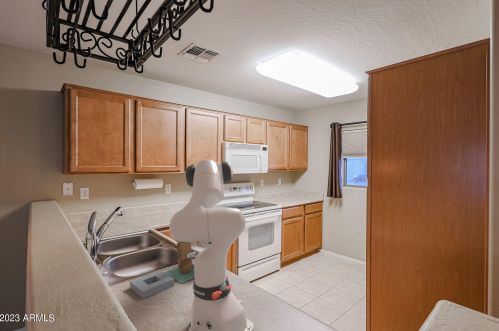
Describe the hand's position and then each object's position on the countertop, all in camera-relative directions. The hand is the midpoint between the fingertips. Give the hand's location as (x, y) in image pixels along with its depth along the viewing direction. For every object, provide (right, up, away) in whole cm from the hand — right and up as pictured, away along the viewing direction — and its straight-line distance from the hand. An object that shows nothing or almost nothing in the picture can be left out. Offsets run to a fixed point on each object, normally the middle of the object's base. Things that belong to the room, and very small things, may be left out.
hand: (182, 254), depth 120 cm
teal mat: (+1, -10, +1) cm, 10 cm away
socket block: (-11, -10, -12) cm, 19 cm away
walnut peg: (+1, -8, +1) cm, 8 cm away
